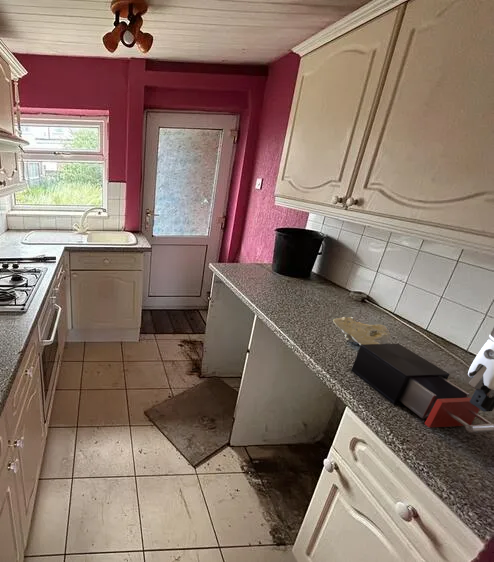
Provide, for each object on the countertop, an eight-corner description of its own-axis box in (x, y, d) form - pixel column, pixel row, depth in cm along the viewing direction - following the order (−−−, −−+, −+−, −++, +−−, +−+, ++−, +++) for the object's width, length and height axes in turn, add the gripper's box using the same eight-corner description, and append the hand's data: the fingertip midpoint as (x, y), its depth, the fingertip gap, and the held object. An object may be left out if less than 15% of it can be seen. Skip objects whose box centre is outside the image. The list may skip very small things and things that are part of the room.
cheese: (394, 359, 107) (377, 319, 114) (401, 353, 101) (383, 311, 109) (342, 362, 112) (329, 324, 120) (346, 357, 107) (332, 317, 114)
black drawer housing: (435, 402, 85) (450, 374, 82) (393, 404, 84) (406, 375, 80) (387, 369, 99) (398, 343, 95) (351, 370, 97) (360, 344, 94)
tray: (499, 445, 71) (516, 419, 68) (455, 448, 70) (470, 422, 67) (417, 388, 89) (427, 365, 86) (380, 389, 88) (390, 366, 85)
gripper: (510, 349, 60) (469, 422, 67) (577, 346, 61) (530, 417, 68) (466, 329, 67) (433, 397, 73) (527, 327, 68) (489, 393, 75)
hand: (480, 406), depth 71 cm, fingers closed
